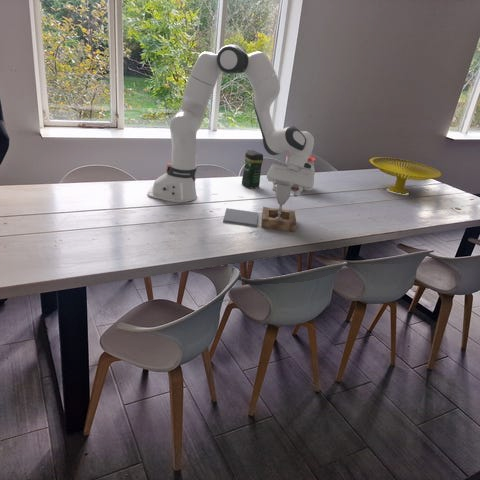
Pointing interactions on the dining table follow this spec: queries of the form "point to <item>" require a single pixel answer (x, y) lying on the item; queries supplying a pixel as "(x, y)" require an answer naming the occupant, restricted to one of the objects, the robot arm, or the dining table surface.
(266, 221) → the walnut holder
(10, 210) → the dining table surface
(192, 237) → the dining table surface
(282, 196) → the chalice
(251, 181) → the coffee jar
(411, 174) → the cake stand
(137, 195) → the dining table surface
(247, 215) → the grey mat
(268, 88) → the robot arm
